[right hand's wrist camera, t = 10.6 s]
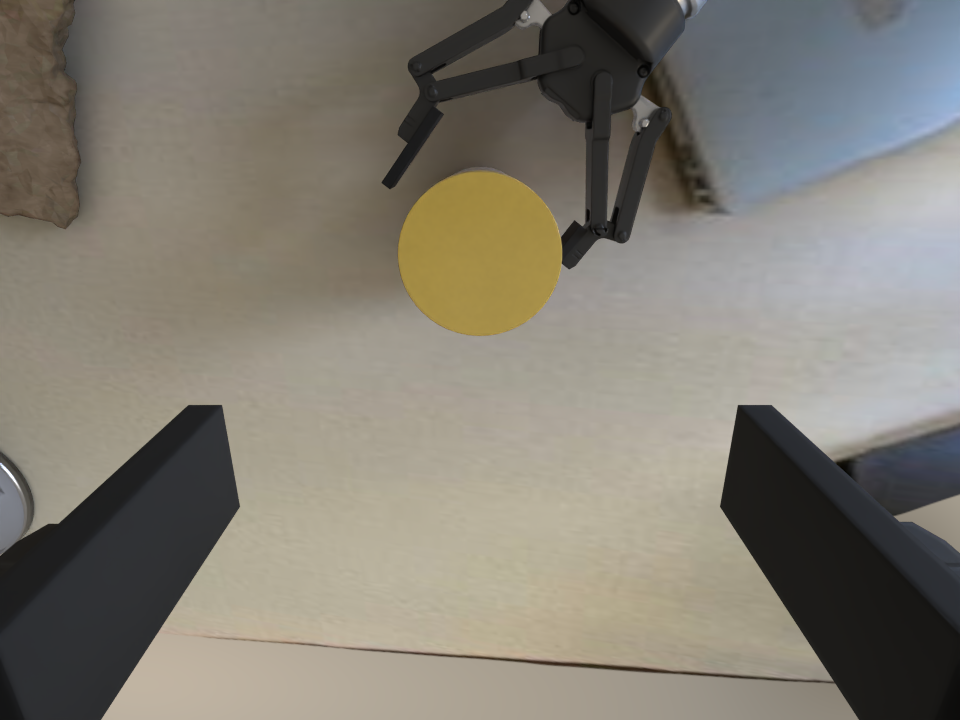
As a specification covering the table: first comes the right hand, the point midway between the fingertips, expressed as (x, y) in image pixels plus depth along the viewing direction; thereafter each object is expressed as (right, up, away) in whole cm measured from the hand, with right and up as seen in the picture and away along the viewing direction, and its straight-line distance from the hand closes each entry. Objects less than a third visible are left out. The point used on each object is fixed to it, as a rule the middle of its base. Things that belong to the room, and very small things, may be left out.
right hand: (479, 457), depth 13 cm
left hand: (-2, +12, +32) cm, 34 cm away
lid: (0, +9, +23) cm, 24 cm away
